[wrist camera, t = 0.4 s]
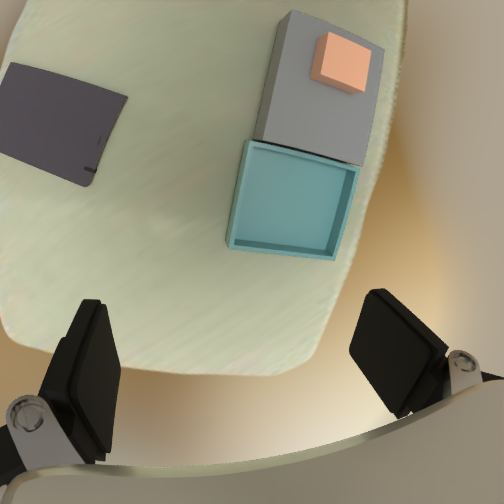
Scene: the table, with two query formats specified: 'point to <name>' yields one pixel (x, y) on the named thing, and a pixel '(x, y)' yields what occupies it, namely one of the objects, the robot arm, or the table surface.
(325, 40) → the terracotta block
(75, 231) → the table surface
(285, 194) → the tray
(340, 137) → the slate bench plate
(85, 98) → the notebook
